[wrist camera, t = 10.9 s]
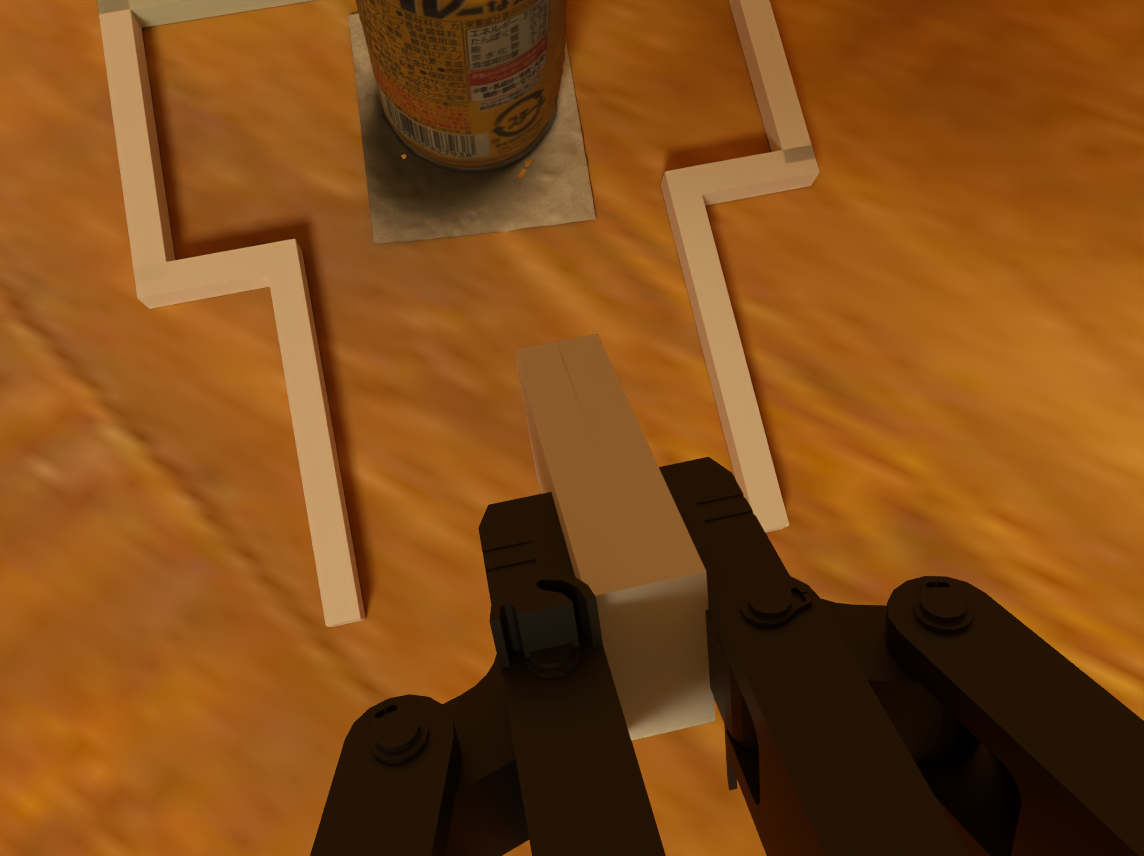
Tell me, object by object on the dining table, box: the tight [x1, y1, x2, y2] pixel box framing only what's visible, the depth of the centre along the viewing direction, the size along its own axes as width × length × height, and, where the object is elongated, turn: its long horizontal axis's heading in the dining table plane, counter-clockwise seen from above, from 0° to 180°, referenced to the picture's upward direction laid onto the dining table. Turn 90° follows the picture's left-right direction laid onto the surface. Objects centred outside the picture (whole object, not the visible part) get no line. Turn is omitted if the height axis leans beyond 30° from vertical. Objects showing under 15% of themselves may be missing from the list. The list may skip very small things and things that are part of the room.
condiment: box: [348, 0, 596, 243], centre depth 28 cm, size 7×8×12 cm
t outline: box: [97, 0, 819, 627], centre depth 32 cm, size 22×22×1 cm
